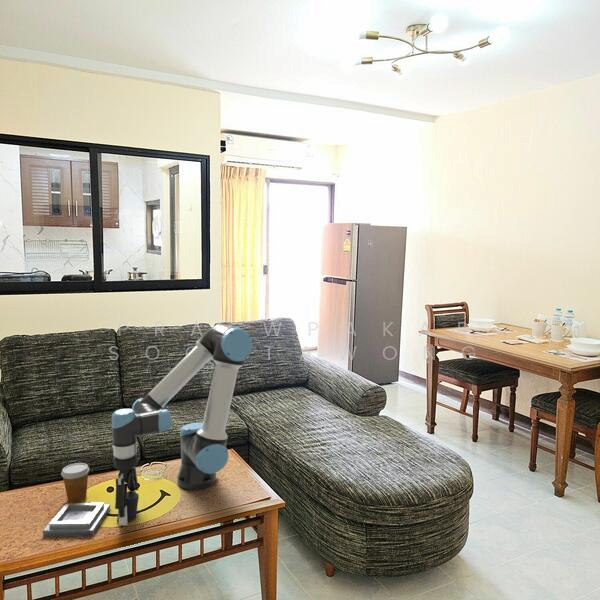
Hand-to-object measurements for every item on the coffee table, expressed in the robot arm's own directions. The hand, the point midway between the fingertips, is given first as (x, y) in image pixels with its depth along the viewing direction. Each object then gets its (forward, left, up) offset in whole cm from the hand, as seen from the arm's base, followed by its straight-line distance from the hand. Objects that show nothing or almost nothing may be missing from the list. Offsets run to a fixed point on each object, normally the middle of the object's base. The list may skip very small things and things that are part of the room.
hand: (127, 516), depth 177 cm
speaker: (0, 0, 0) cm, 0 cm away
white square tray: (+16, +3, 0) cm, 16 cm away
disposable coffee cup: (+23, -13, 0) cm, 26 cm away
